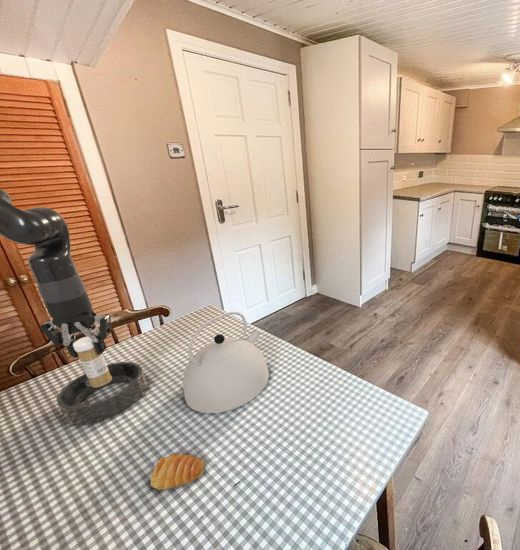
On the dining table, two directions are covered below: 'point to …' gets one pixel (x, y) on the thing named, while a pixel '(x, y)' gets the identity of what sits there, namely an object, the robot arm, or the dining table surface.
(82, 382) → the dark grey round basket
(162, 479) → the pastry
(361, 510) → the dining table surface
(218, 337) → the kettle
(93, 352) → the sprinkles bottle
